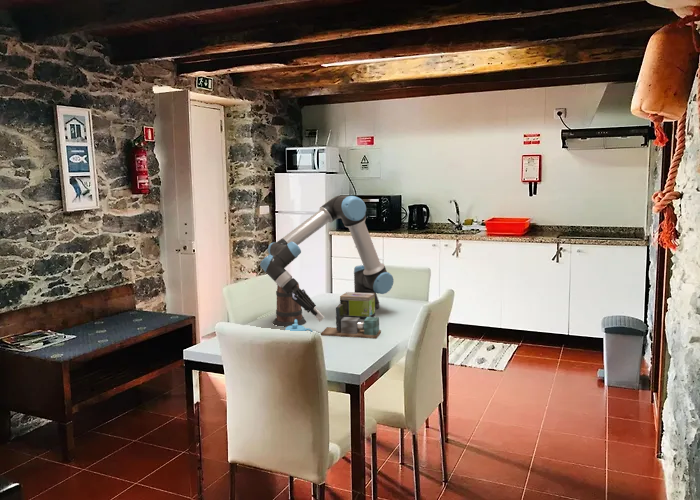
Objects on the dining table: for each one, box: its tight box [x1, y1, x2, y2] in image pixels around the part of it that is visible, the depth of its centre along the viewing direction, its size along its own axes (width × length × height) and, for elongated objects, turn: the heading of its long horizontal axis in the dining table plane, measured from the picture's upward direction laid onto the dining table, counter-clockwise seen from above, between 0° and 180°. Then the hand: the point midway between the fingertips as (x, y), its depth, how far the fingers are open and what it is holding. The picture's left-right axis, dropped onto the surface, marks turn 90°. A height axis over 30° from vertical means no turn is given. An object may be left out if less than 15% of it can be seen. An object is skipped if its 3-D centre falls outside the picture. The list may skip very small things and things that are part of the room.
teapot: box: [284, 319, 314, 333], centre depth 249 cm, size 15×14×11 cm
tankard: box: [272, 283, 307, 328], centre depth 295 cm, size 24×17×20 cm
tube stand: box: [320, 316, 382, 339], centre depth 271 cm, size 26×10×8 cm, turn 76°
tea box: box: [339, 291, 376, 322], centre depth 287 cm, size 15×10×15 cm
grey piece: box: [335, 303, 364, 331], centre depth 270 cm, size 17×6×11 cm, turn 76°
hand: (322, 319), depth 274 cm, fingers closed
